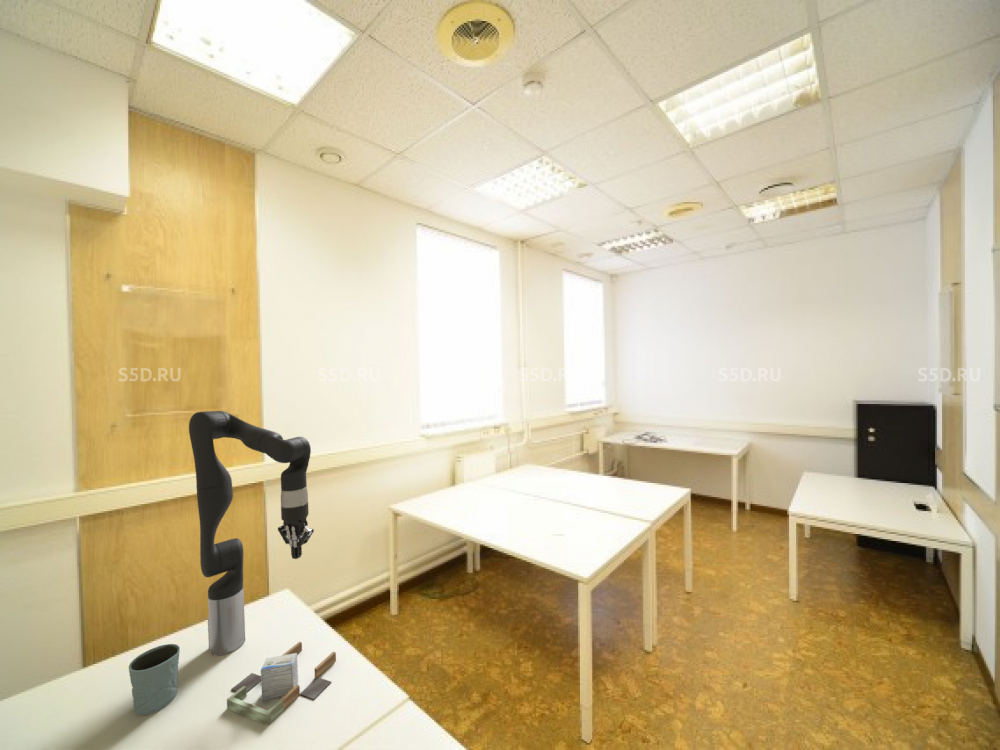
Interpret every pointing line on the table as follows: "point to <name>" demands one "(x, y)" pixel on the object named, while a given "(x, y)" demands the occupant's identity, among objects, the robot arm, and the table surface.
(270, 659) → the medicine box
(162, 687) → the blue-grey vase
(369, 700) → the table surface
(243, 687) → the trap channel
